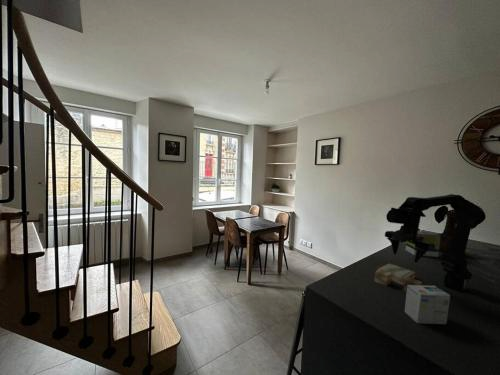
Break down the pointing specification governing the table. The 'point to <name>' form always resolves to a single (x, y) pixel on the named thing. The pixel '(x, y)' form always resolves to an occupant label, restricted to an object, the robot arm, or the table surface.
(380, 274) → the oak block
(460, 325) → the table surface
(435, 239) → the tea box
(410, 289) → the light bulb box
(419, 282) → the walnut block
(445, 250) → the glass bottle
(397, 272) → the plinth
